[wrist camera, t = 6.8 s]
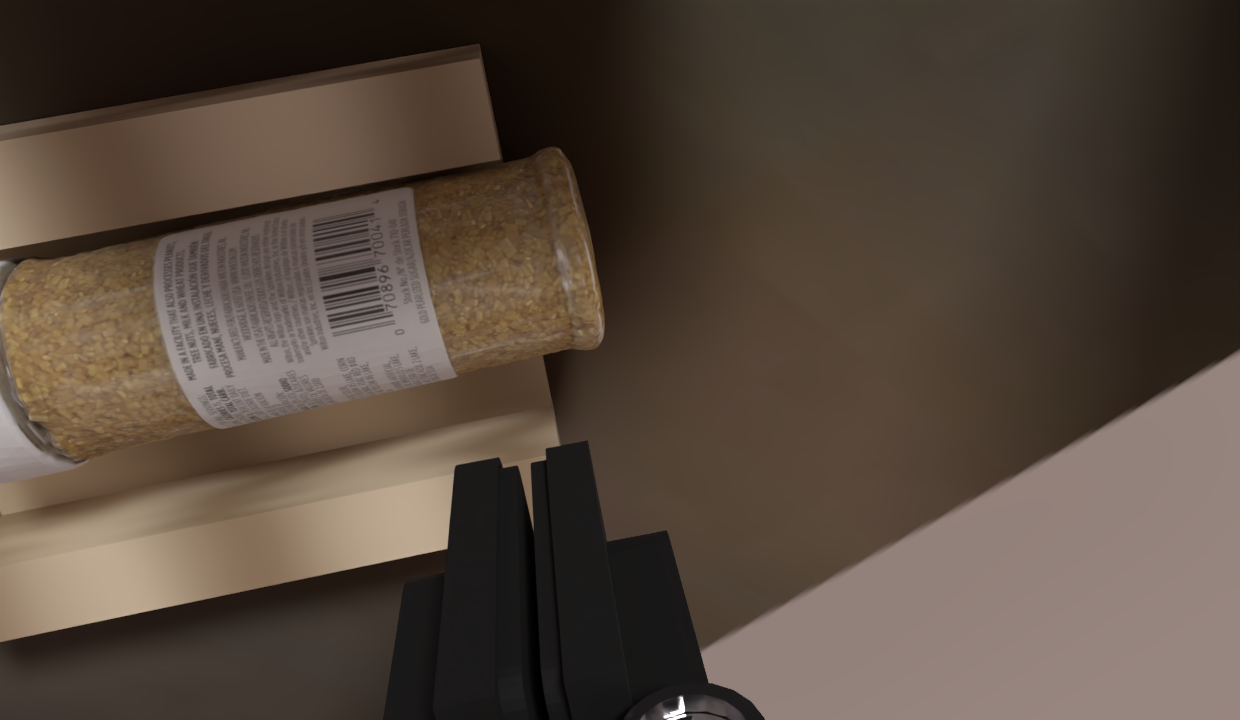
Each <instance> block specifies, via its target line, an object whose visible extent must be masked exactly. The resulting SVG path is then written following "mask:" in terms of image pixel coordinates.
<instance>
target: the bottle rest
mask: <svg viewBox="0 0 1240 720" xmlns="http://www.w3.org/2000/svg"><path fill="white" fill-rule="evenodd" d="M503 163H504V162H503V157H502V152H501V147H500V142H499V137H498V133H497V128H496V123H495V118H494V113H493V108H492V103H491V98H490V93H489V88H488V83H487V79H486V74H485V69H484V64H483V59H482V54H481V49H480V44H474V45H468V46H462V47H457V48H451V49H445V50H439V51H433V52H427V53H422V54H416V55H410V56H404V57H398V58H392V59H387V60H381V61H375V62H369V63H363V64H358V65H352V66H346V67H340V68H334V69H328V70H323V71H317V72H311V73H305V74H299V75H293V76H288V77H282V78H276V79H270V80H264V81H258V82H253V83H247V84H241V85H235V86H229V87H224V88H218V89H212V90H206V91H200V92H194V93H189V94H183V95H177V96H171V97H165V98H159V99H154V100H148V101H142V102H136V103H130V104H125V105H119V106H113V107H107V108H101V109H95V110H90V111H84V112H78V113H72V114H66V115H60V116H55V117H49V118H43V119H37V120H31V121H26V122H20V123H14V124H8V125H2V126H0V260H1V259H5V258H10V257H23V258H30V257H33V256H37V257H43V258H49V259H56V258H58V257H60V256H66V255H72V254H76V253H79V252H84V251H92V250H96V249H100V248H103V247H105V246H110V245H115V244H118V243H125V242H129V241H133V240H136V239H142V238H149V237H154V236H158V235H161V234H163V233H166V232H172V231H180V230H183V229H186V228H193V227H196V226H198V225H204V224H209V223H213V222H218V221H226V220H230V219H234V218H240V217H244V216H249V215H254V214H258V213H262V212H265V211H267V210H268V209H271V208H274V207H278V206H283V205H287V204H292V203H297V202H302V201H306V200H311V199H316V198H321V197H325V196H330V195H334V194H339V193H344V192H349V191H354V190H359V189H363V188H368V187H373V186H378V185H383V184H388V183H393V182H398V181H410V182H412V181H419V180H424V179H428V178H433V177H437V176H446V175H449V174H454V173H458V172H461V171H466V170H470V169H476V168H481V167H487V166H492V165H497V164H503ZM556 446H561V442H560V437H559V432H558V427H557V422H556V417H555V413H554V408H553V403H552V398H551V393H550V388H549V383H548V378H547V373H546V368H545V363H544V359H543V355H539V356H534V357H531V358H528V359H525V360H518V361H514V362H510V363H506V364H502V365H498V366H494V367H485V368H480V369H477V370H474V371H470V372H465V373H462V374H460V375H459V376H457V377H455V378H451V379H447V380H442V381H438V382H433V383H429V384H424V385H420V386H415V387H410V388H406V389H401V390H397V391H392V392H388V393H383V394H378V395H374V396H369V397H364V398H360V399H355V400H350V401H346V402H341V403H337V404H332V405H328V406H323V407H319V408H314V409H310V410H305V411H301V412H296V413H292V414H288V415H283V416H279V417H274V418H270V419H266V420H261V421H257V422H253V423H248V424H244V425H239V426H235V427H231V428H225V429H218V428H213V429H209V430H204V431H199V432H195V433H190V434H183V435H179V436H176V437H173V438H171V439H167V440H161V441H156V442H149V443H145V444H142V445H139V446H135V447H130V448H124V449H120V450H114V451H111V452H109V453H107V454H105V455H103V456H99V457H95V458H93V459H91V460H89V461H88V462H87V463H85V464H84V465H82V466H80V467H78V468H75V469H71V470H67V471H62V472H58V473H54V474H49V475H44V476H40V477H35V478H30V479H25V480H20V481H14V482H9V483H2V484H0V642H3V641H7V640H12V639H17V638H22V637H27V636H31V635H36V634H41V633H46V632H51V631H55V630H60V629H65V628H70V627H74V626H79V625H84V624H89V623H94V622H98V621H103V620H108V619H113V618H118V617H122V616H127V615H132V614H137V613H142V612H146V611H151V610H156V609H161V608H166V607H170V606H175V605H180V604H185V603H190V602H194V601H199V600H204V599H209V598H214V597H218V596H223V595H228V594H233V593H238V592H242V591H247V590H252V589H257V588H262V587H266V586H271V585H276V584H281V583H285V582H290V581H295V580H300V579H305V578H309V577H314V576H319V575H324V574H329V573H333V572H338V571H343V570H348V569H353V568H357V567H362V566H367V565H372V564H377V563H381V562H386V561H391V560H396V559H401V558H405V557H410V556H415V555H420V554H425V553H429V552H434V551H439V550H444V549H447V546H448V535H449V524H450V513H451V502H452V491H453V480H454V470H455V466H456V465H459V464H465V463H470V462H475V461H481V460H486V459H492V458H497V457H499V458H500V460H501V463H502V466H503V468H506V467H511V466H516V465H517V466H518V467H519V470H520V474H521V478H522V483H523V487H524V491H525V496H526V500H527V504H528V509H529V513H530V517H531V522H532V526H533V530H534V524H533V504H532V484H531V463H532V462H538V461H543V460H546V448H550V447H556Z"/></svg>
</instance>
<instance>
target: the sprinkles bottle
mask: <svg viewBox="0 0 1240 720" xmlns="http://www.w3.org/2000/svg"><path fill="white" fill-rule="evenodd" d="M604 329H605V315H604V309H603V302H602V295H601V289H600V283H599V279H598V275H597V270H596V264H595V256H594V250H593V245H592V240H591V234H590V230H589V226H588V222H587V219H586V215H585V211H584V207H583V203H582V199H581V195H580V192H579V188H578V184H577V180H576V176H575V173H574V170H573V168H572V166H571V163H570V161H569V160H568V159H567V158H566V157H565V155H564V154H563V152H562V151H561V149H559V148H558V147H548V148H544V149H541V150H539V151H538V152H536V153H535V154H533V155H531V156H529V157H526V158H524V159H519V160H515V161H511V162H507V163H503V164H497V165H492V166H487V167H481V168H476V169H470V170H466V171H461V172H458V173H454V174H449V175H446V176H437V177H433V178H428V179H424V180H419V181H412V182H410V181H398V182H393V183H388V184H383V185H378V186H373V187H368V188H363V189H359V190H354V191H349V192H344V193H339V194H334V195H330V196H325V197H321V198H316V199H311V200H306V201H302V202H297V203H292V204H287V205H283V206H278V207H274V208H271V209H268V210H267V211H265V212H262V213H258V214H254V215H249V216H244V217H240V218H234V219H230V220H226V221H218V222H213V223H209V224H204V225H198V226H196V227H193V228H186V229H183V230H180V231H172V232H166V233H163V234H161V235H158V236H154V237H149V238H142V239H136V240H133V241H129V242H125V243H118V244H115V245H110V246H105V247H103V248H100V249H96V250H92V251H84V252H79V253H76V254H72V255H66V256H60V257H58V258H56V259H49V258H43V257H37V256H33V257H30V258H23V257H10V258H5V259H1V260H0V484H2V483H9V482H14V481H20V480H25V479H30V478H35V477H40V476H44V475H49V474H54V473H58V472H62V471H67V470H71V469H75V468H78V467H80V466H82V465H84V464H85V463H87V462H88V461H89V460H91V459H93V458H95V457H99V456H103V455H105V454H107V453H109V452H111V451H114V450H120V449H124V448H130V447H135V446H139V445H142V444H145V443H149V442H156V441H161V440H167V439H171V438H173V437H176V436H179V435H183V434H190V433H195V432H199V431H204V430H209V429H213V428H218V429H225V428H231V427H235V426H239V425H244V424H248V423H253V422H257V421H261V420H266V419H270V418H274V417H279V416H283V415H288V414H292V413H296V412H301V411H305V410H310V409H314V408H319V407H323V406H328V405H332V404H337V403H341V402H346V401H350V400H355V399H360V398H364V397H369V396H374V395H378V394H383V393H388V392H392V391H397V390H401V389H406V388H410V387H415V386H420V385H424V384H429V383H433V382H438V381H442V380H447V379H451V378H455V377H457V376H459V375H460V374H462V373H465V372H470V371H474V370H477V369H480V368H485V367H494V366H498V365H502V364H506V363H510V362H514V361H518V360H525V359H528V358H531V357H534V356H539V355H545V354H549V353H555V352H558V351H561V350H567V349H577V350H592V349H595V348H597V347H598V346H599V345H600V343H601V342H602V340H603V336H604Z"/></svg>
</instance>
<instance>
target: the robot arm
mask: <svg viewBox="0 0 1240 720" xmlns="http://www.w3.org/2000/svg"><path fill="white" fill-rule="evenodd" d="M531 484H532V504H533V524H534V530H533V526H532V522H531V517H530V513H529V509H528V504H527V500H526V496H525V491H524V487H523V483H522V478H521V474H520V470H519V467H518V466H517V465H516V466H511V467H506V468H503V466H502V463H501V460H500V458H499V457H497V458H492V459H486V460H481V461H475V462H470V463H465V464H459V465H456V466H455V470H454V480H453V491H452V502H451V513H450V524H449V535H448V546H447V557H446V568H445V573H442V574H437V575H431V576H426V577H421V578H416V579H410V580H408V581H407V582H406V583H405V585H404V589H403V593H402V600H401V607H400V613H399V620H398V626H397V633H396V639H395V646H394V653H393V659H392V666H391V672H390V679H389V685H388V692H387V699H386V705H385V712H384V718H383V720H765V719H764V717H763V716H762V715H761V713H760V712H759V711H758V710H757V709H756V707H755V706H754V705H753V703H752V702H751V701H749V700H748V699H746V698H745V697H743V696H742V695H740V694H739V693H737V692H736V691H734V690H731V689H728V688H725V687H721V686H719V685H715V684H712V683H711V684H710V683H708V679H707V675H706V672H705V668H704V664H703V661H702V657H701V653H700V650H699V646H698V642H697V639H696V635H695V631H694V627H693V624H692V620H691V616H690V613H689V609H688V605H687V602H686V598H685V594H684V591H683V587H682V583H681V580H680V576H679V572H678V568H677V565H676V561H675V557H674V554H673V550H672V546H671V543H670V539H669V536H668V533H667V531H662V532H656V533H651V534H646V535H641V536H635V537H630V538H625V539H620V540H614V541H609V542H607V539H606V534H605V529H604V524H603V518H602V513H601V508H600V502H599V497H598V492H597V487H596V481H595V476H594V471H593V465H592V460H591V455H590V450H589V445H588V441H583V442H577V443H572V444H567V445H561V446H556V447H550V448H546V460H543V461H538V462H532V463H531Z"/></svg>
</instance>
